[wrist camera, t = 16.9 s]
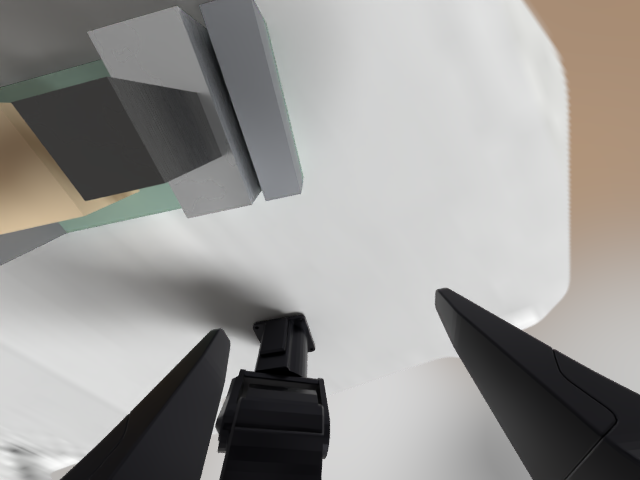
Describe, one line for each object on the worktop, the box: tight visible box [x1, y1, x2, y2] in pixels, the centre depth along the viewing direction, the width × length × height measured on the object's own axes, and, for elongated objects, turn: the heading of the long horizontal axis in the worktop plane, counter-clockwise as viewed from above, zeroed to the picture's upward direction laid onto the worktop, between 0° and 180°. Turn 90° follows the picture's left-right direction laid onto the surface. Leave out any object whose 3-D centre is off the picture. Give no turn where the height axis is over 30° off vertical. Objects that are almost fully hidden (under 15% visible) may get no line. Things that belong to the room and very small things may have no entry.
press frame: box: [0, 0, 303, 265], centre depth 14 cm, size 10×24×8 cm, turn 102°
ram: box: [11, 6, 262, 218], centre depth 11 cm, size 9×4×10 cm, turn 12°
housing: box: [0, 102, 139, 235], centre depth 15 cm, size 6×8×5 cm
